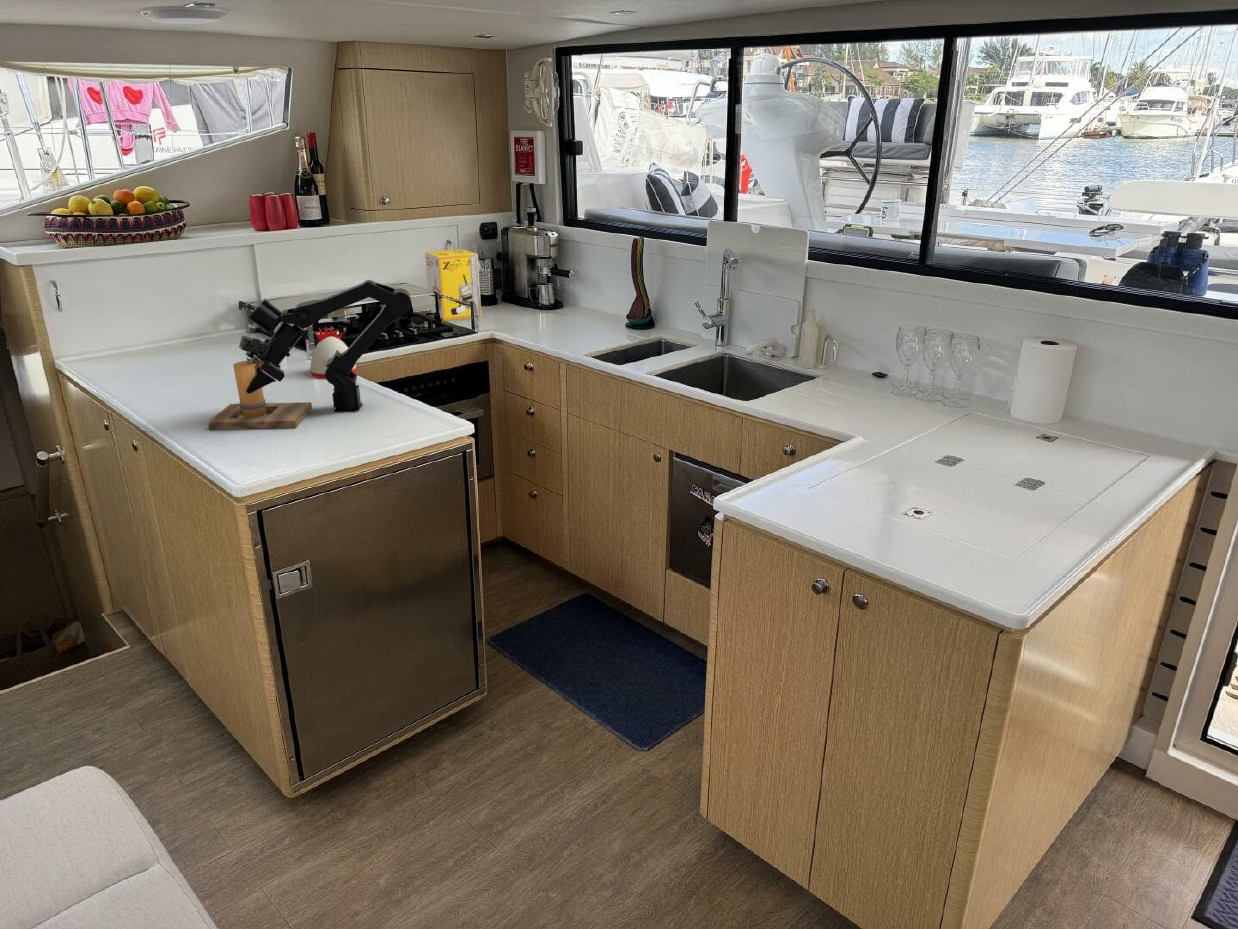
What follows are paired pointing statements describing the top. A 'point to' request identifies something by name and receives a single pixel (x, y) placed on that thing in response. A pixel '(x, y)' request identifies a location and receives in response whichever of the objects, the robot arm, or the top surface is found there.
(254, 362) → the orange round cylinder
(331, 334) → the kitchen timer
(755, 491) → the top surface
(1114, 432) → the top surface
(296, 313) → the robot arm
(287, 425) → the wooden frame
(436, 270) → the packaging box
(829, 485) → the top surface
